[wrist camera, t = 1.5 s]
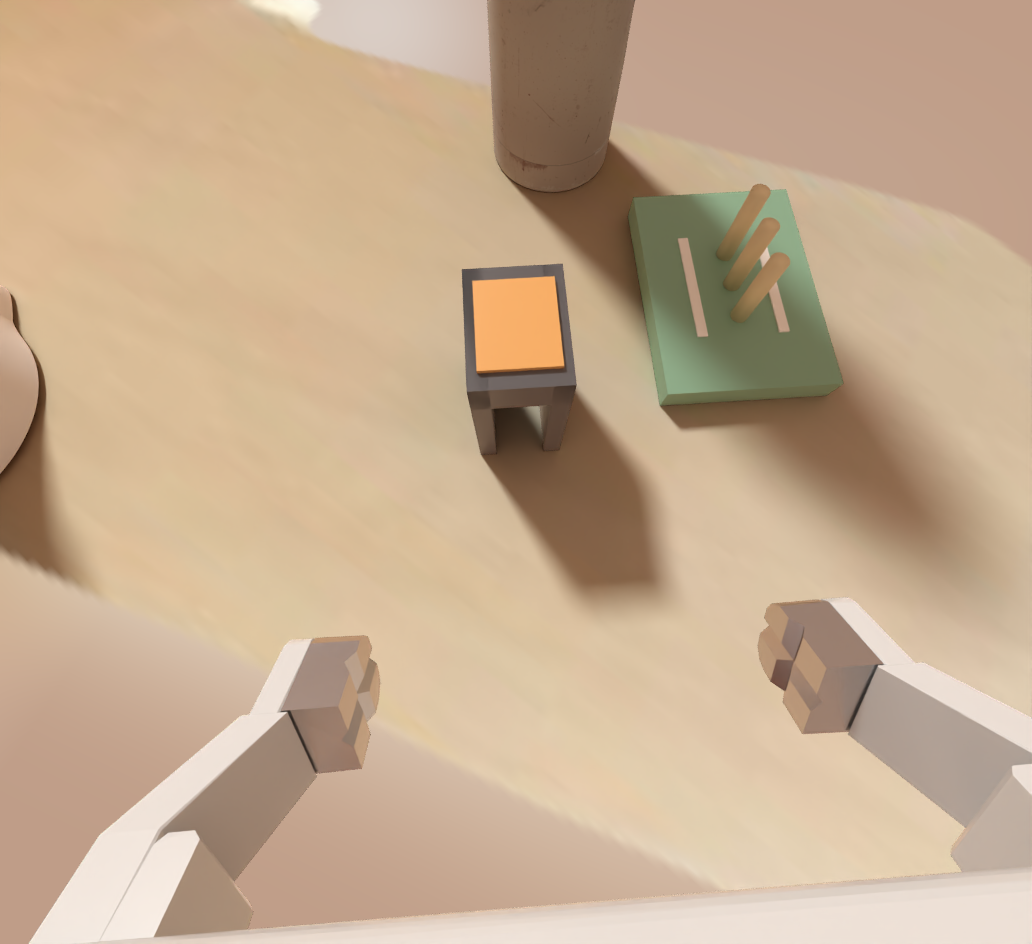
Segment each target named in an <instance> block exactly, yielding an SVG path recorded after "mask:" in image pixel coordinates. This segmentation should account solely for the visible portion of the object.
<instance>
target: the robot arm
mask: <svg viewBox="0 0 1032 944" xmlns="http://www.w3.org/2000/svg"><path fill="white" fill-rule="evenodd" d="M38 389H39V381H38V371H37V367H36V363H35V360H34V357H33V355H32V353H31V350H30V349H29V347H28V345H27V344H26V342H25V341H24V340H23V338H22V337H21V336H20V334H19V333H18V331H17V330H16V328H15V326H14V323H13V311H12V300H11V296H10V293H9V291H8V290H7V289H6V288H5V287H4V286H2V285H0V473H1V472H2V471H3V470H4V469H5V467H6V466H7V465H8V463H9V462H10V461H11V459H12V458H13V457H14V455H15V454H16V452H17V450H18V449H19V447H20V446H21V444H22V442H23V440H24V438H25V436H26V434H27V432H28V430H29V428H30V425H31V422H32V420H33V417H34V413H35V410H36V405H37V399H38ZM764 618H765V620H766V621H767V623H768V624H769V626H768V627H767V628H766V629H765V630H764V631H763V632H761V633H760V637H759V642H758V652H759V659H760V662H761V664H762V667H763V670H764V671H765V673H766V675H767V677H768V678H769V680H770V682H772V683H773V684H775V685H776V686H778V687H779V688H781V689H782V690H784V696H783V703H784V705H785V706H786V708H787V710H788V711H789V713H790V715H791V716H792V718H793V720H794V721H795V723H796V724H797V726H798V728H799V729H800V731H801V733H802V734H813V733H833V732H849V733H848V735H849V736H851V737H852V738H853V739H855V740H856V741H857V742H858V743H860V744H861V745H862V746H863V747H865V748H866V749H867V750H868V751H870V752H871V753H872V754H873V755H875V756H876V757H877V758H878V759H880V760H881V761H882V762H883V763H885V764H886V765H887V766H888V767H890V768H891V769H892V770H894V771H895V772H896V773H897V774H899V775H900V776H901V777H902V778H904V779H905V780H906V781H907V782H909V783H910V784H911V785H912V786H914V787H915V788H916V789H917V790H919V791H920V792H921V793H922V794H924V795H925V796H926V797H927V798H929V799H930V800H931V801H933V802H934V803H935V804H936V805H938V806H939V807H940V808H941V809H943V810H944V811H945V812H946V813H948V814H949V815H950V816H951V817H953V818H954V819H955V820H956V821H958V822H959V823H960V824H961V825H963V826H964V827H965V829H964V831H963V832H962V833H961V835H960V836H959V837H958V839H957V840H956V841H955V843H954V844H953V845H952V849H951V857H952V858H953V859H954V861H955V862H956V864H957V865H958V866H959V868H960V869H961V871H962V872H955V873H942V874H930V875H917V876H905V877H893V878H880V879H868V880H855V881H843V882H830V883H818V884H805V885H793V886H780V887H768V888H756V889H743V890H731V891H718V892H706V893H695V894H694V893H693V894H681V895H669V896H656V897H644V898H632V899H619V900H607V901H594V902H581V903H570V904H557V905H544V906H531V907H519V908H508V909H495V910H482V911H470V912H457V913H445V914H433V915H421V916H408V917H395V918H385V919H371V920H359V921H346V922H335V923H322V924H310V925H297V926H284V927H272V928H260V929H248V927H249V924H250V921H251V918H252V915H253V909H252V907H251V904H250V902H249V901H248V900H247V898H246V897H245V895H244V894H243V893H242V891H241V890H240V889H239V888H238V886H237V885H236V884H235V882H234V881H235V880H236V879H237V877H238V876H239V875H240V874H241V872H242V871H243V870H244V869H245V867H246V866H247V865H248V863H249V862H250V861H251V860H252V858H253V857H254V856H255V854H256V853H257V852H258V851H259V849H260V848H261V847H262V846H263V844H264V843H265V842H266V841H267V839H268V838H269V837H270V835H271V834H272V833H273V832H274V830H275V829H276V828H277V826H278V825H279V824H280V823H281V821H282V820H283V819H284V818H285V816H286V815H287V814H288V813H289V811H290V810H291V809H292V807H293V806H294V805H295V804H296V802H297V801H298V800H299V799H300V797H301V796H302V795H303V793H304V792H305V791H306V790H307V788H308V787H309V786H310V785H311V783H312V782H313V781H314V779H315V778H316V777H317V775H316V774H317V773H327V772H336V771H345V770H355V769H362V766H363V763H364V759H365V755H366V750H367V747H368V743H369V739H370V735H371V734H370V731H369V728H368V724H367V721H368V720H369V719H370V718H371V717H372V716H373V715H374V714H375V713H376V710H377V705H378V701H379V693H380V677H379V670H378V666H377V663H375V662H374V661H373V660H371V659H370V658H369V657H370V654H371V650H372V646H371V644H370V641H369V638H368V636H364V635H363V636H343V637H324V638H313V639H294V640H290V641H289V642H288V643H287V644H286V645H285V646H284V647H283V649H282V651H281V653H280V655H279V657H278V659H277V661H276V663H275V665H274V667H273V669H272V671H271V673H270V675H269V676H268V678H267V680H266V682H265V684H264V686H263V688H262V690H261V693H260V694H259V696H258V698H257V700H256V702H255V704H254V706H253V708H252V710H251V712H250V714H249V715H241V716H240V717H239V718H238V719H236V720H235V721H234V722H233V723H232V724H230V725H229V726H228V727H227V728H226V729H225V730H223V731H222V732H221V733H220V734H219V735H217V736H216V737H215V738H214V739H213V740H211V741H210V742H209V743H208V744H207V745H206V746H204V747H203V748H202V749H201V750H200V751H199V752H197V753H196V754H195V755H194V756H192V757H191V758H190V759H189V760H188V761H187V762H185V763H184V764H183V765H182V766H181V767H179V768H178V769H177V770H176V771H175V772H174V773H172V774H171V775H170V776H169V777H168V778H166V779H165V780H164V781H163V782H162V783H161V784H159V785H158V786H157V787H156V788H155V789H153V790H152V791H151V792H150V793H149V794H147V795H146V796H145V797H144V798H143V799H141V800H140V801H139V802H138V803H137V804H135V805H134V806H133V807H132V808H131V809H130V810H128V811H127V812H126V813H125V814H124V815H122V816H121V817H120V818H119V819H118V820H116V821H115V822H114V823H113V824H112V825H111V826H109V827H108V828H107V829H106V830H105V831H104V832H102V833H101V834H100V835H99V836H98V838H97V839H96V841H95V842H94V844H93V845H92V847H91V849H90V850H89V852H88V853H87V855H86V856H85V858H84V859H83V861H82V862H81V864H80V865H79V867H78V869H77V870H76V872H75V873H74V875H73V876H72V878H71V879H70V881H69V882H68V884H67V885H66V887H65V889H64V890H63V892H62V893H61V895H60V896H59V898H58V899H57V901H56V902H55V904H54V905H53V907H52V908H51V910H50V911H49V913H48V914H47V916H46V917H45V919H44V921H43V922H42V924H41V925H40V927H39V928H38V930H37V931H36V933H35V934H34V936H33V937H32V939H31V940H30V942H29V944H1032V718H1031V717H1029V716H1027V715H1025V714H1023V713H1021V712H1019V711H1017V710H1016V709H1014V708H1012V707H1010V706H1008V705H1006V704H1004V703H1002V702H1000V701H998V700H996V699H994V698H992V697H990V696H988V695H986V694H984V693H982V692H980V691H978V690H976V689H974V688H973V687H971V686H969V685H967V684H965V683H963V682H961V681H959V680H957V679H955V678H953V677H951V676H949V675H947V674H945V673H943V672H941V671H939V670H937V669H935V668H933V667H931V666H929V665H928V664H926V663H924V662H921V663H915V662H914V661H913V660H912V659H911V658H910V657H909V656H908V655H907V654H906V653H905V652H904V651H903V650H902V649H901V648H900V647H899V646H898V645H897V644H896V643H895V642H894V641H893V640H892V639H891V638H890V636H889V635H888V634H887V633H886V632H885V631H884V630H883V629H882V628H881V627H880V626H879V625H878V624H877V623H876V622H875V621H874V620H873V619H872V618H871V617H870V616H869V615H868V614H867V613H866V612H865V611H864V610H863V609H862V608H861V607H860V606H859V605H858V604H857V602H855V601H854V600H852V599H850V598H848V597H842V598H830V599H821V600H806V601H795V602H783V603H772V604H770V606H769V607H768V608H767V609H766V613H765V617H764Z"/></svg>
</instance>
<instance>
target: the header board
mask: <svg viewBox="0 0 1032 944" xmlns="http://www.w3.org/2000/svg"><path fill="white" fill-rule="evenodd" d="M628 220H629V226H630V232H631V237H632V243H633V249H634V255H635V261H636V267H637V273H638V279H639V285H640V291H641V297H642V303H643V308H644V314H645V320H646V326H647V332H648V338H649V344H650V350H651V356H652V362H653V368H654V374H655V379H656V385H657V391H658V397H659V403H660V406H663V405H679V404H696V403H712V402H728V401H744V400H761V399H777V398H793V397H809V396H826V395H828V394H829V393H831V392H832V391H834V390H835V389H837V388H838V387H840V386H841V385H842V384H844V383H843V380H842V376H841V373H840V370H839V366H838V363H837V360H836V356H835V353H834V349H833V346H832V343H831V339H830V336H829V333H828V329H827V326H826V322H825V319H824V316H823V312H822V309H821V306H820V302H819V299H818V295H817V292H816V289H815V285H814V282H813V279H812V275H811V272H810V268H809V265H808V262H807V258H806V255H805V252H804V248H803V245H802V241H801V238H800V235H799V231H798V228H797V225H796V221H795V218H794V215H793V211H792V208H791V204H790V201H789V198H788V194H787V191H786V189H784V190H770V189H769V188H768V187H767V186H766V185H763V184H756V185H754V186H753V187H752V189H751V191H746V192H727V193H709V194H690V195H671V196H652V197H633V200H632V204H631V207H630V211H629V214H628Z"/></svg>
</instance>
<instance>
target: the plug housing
mask: <svg viewBox="0 0 1032 944" xmlns="http://www.w3.org/2000/svg"><path fill="white" fill-rule="evenodd" d="M462 284H463V310H464V335H465V360H466V385H467V395H468V399H469V404H470V408H471V413H472V417H473V422H474V426H475V430H476V435H477V439H478V444H479V448H480V453H481V455H486V454H497V451H496V433H495V416H494V409H495V408H512V407H528V406H540V416H541V427H542V438H543V450H544V451H549V450H559V449H560V445H561V441H562V438H563V434H564V430H565V426H566V423H567V419H568V415H569V412H570V408H571V404H572V400H573V397H574V393H575V389H576V385H577V384H576V376H575V367H574V358H573V350H572V341H571V332H570V323H569V315H568V306H567V297H566V289H565V280H564V271H563V264H551V265H533V266H515V267H496V268H478V269H462Z"/></svg>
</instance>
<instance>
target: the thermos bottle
mask: <svg viewBox="0 0 1032 944" xmlns="http://www.w3.org/2000/svg"><path fill="white" fill-rule="evenodd" d="M634 2H635V0H487V8H488V26H489V27H488V29H489V50H490V71H491V92H492V113H493V134H494V152H495V156H496V160H497V162H498V164H499V166H500V168H501V169H502V170H503V172H504V173H505V174H506V175H507V176H508V177H509V178H510V179H512V180H513V181H514V182H516V183H518V184H520V185H522V186H524V187H526V188H529V189H532V190H537V191H543V192H559V191H566V190H570V189H573V188H576V187H579V186H580V185H582V184H584V183H586V182H588V181H589V180H590V179H591V178H593V177H594V176H595V175H596V173H597V172H598V171H599V170H600V168H601V166H602V164H603V162H604V160H605V156H606V150H607V145H608V140H609V135H610V130H611V125H612V120H613V115H614V110H615V104H616V99H617V94H618V89H619V84H620V79H621V74H622V69H623V64H624V58H625V52H626V47H627V41H628V35H629V29H630V23H631V18H632V13H633V7H634Z"/></svg>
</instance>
